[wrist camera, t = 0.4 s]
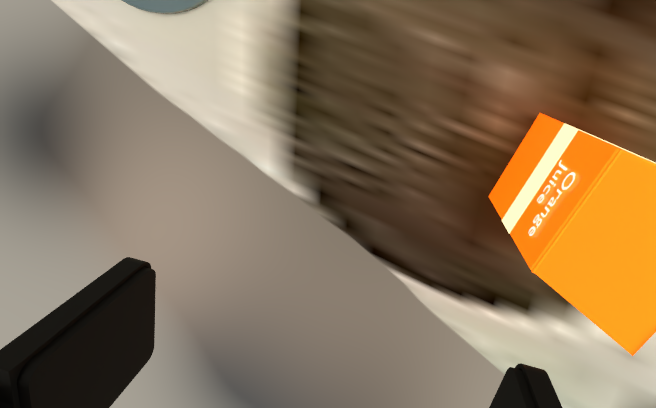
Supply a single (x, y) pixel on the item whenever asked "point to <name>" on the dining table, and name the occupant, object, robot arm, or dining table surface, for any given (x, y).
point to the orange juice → (586, 225)
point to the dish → (165, 5)
